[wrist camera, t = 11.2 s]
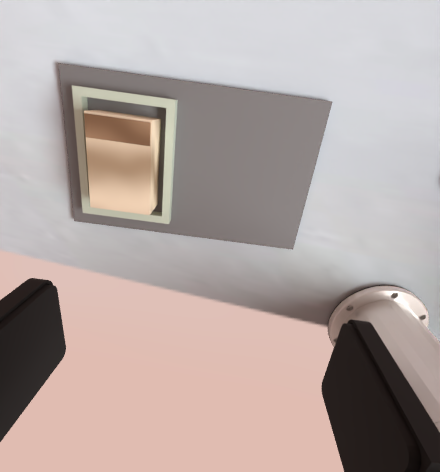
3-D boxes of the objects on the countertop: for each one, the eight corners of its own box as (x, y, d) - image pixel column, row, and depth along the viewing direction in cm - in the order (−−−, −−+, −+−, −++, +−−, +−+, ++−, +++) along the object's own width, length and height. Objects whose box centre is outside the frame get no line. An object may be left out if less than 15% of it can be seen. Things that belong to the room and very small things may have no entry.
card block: (157, 204, 32) (148, 215, 28) (104, 196, 32) (89, 207, 28) (161, 118, 28) (151, 120, 25) (100, 109, 28) (82, 110, 24)
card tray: (78, 86, 27) (71, 85, 26) (177, 99, 27) (175, 99, 26) (87, 209, 32) (82, 212, 31) (170, 220, 33) (168, 224, 31)
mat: (330, 101, 27) (332, 101, 27) (291, 247, 34) (292, 249, 34) (62, 64, 27) (58, 63, 26) (76, 219, 34) (74, 220, 33)
